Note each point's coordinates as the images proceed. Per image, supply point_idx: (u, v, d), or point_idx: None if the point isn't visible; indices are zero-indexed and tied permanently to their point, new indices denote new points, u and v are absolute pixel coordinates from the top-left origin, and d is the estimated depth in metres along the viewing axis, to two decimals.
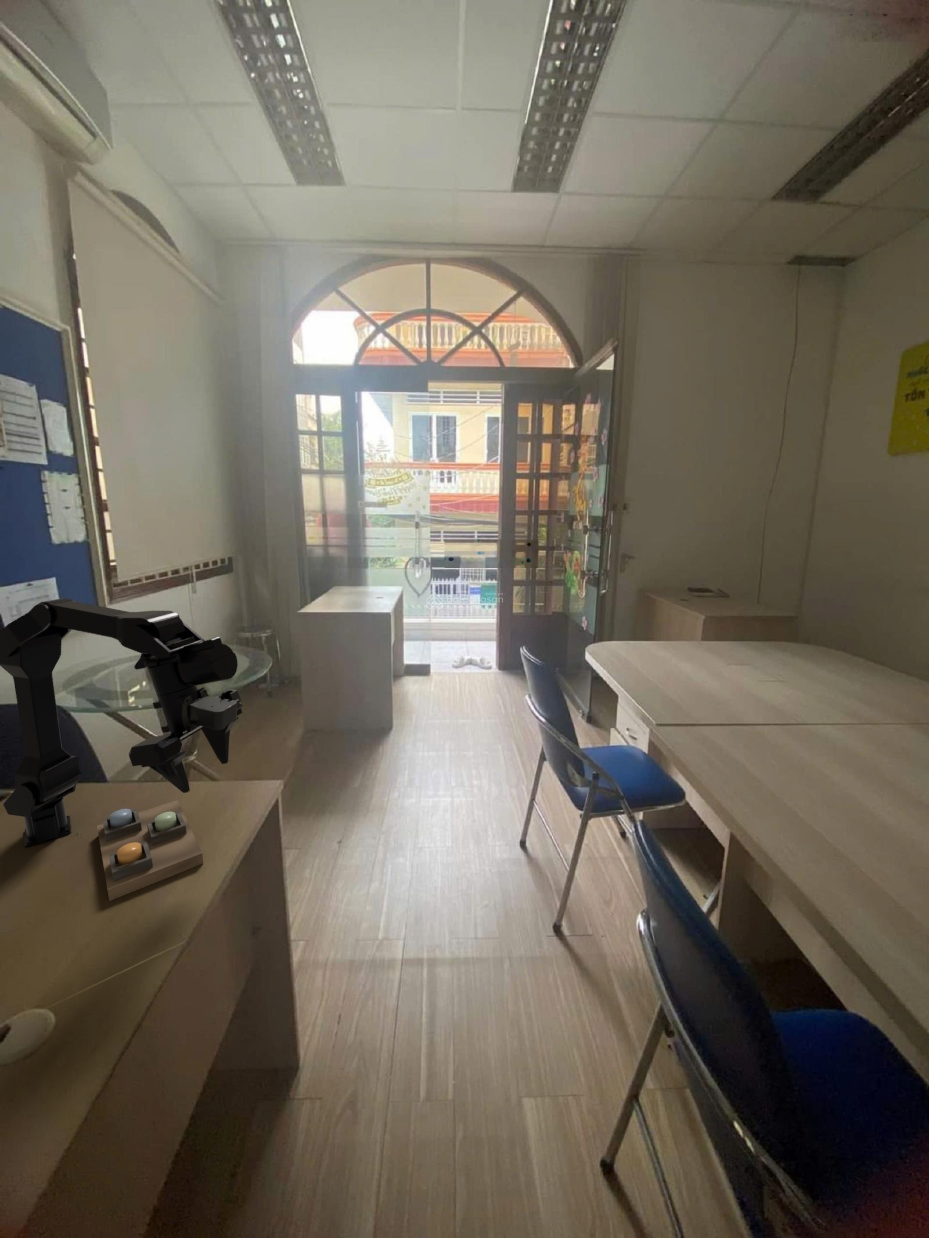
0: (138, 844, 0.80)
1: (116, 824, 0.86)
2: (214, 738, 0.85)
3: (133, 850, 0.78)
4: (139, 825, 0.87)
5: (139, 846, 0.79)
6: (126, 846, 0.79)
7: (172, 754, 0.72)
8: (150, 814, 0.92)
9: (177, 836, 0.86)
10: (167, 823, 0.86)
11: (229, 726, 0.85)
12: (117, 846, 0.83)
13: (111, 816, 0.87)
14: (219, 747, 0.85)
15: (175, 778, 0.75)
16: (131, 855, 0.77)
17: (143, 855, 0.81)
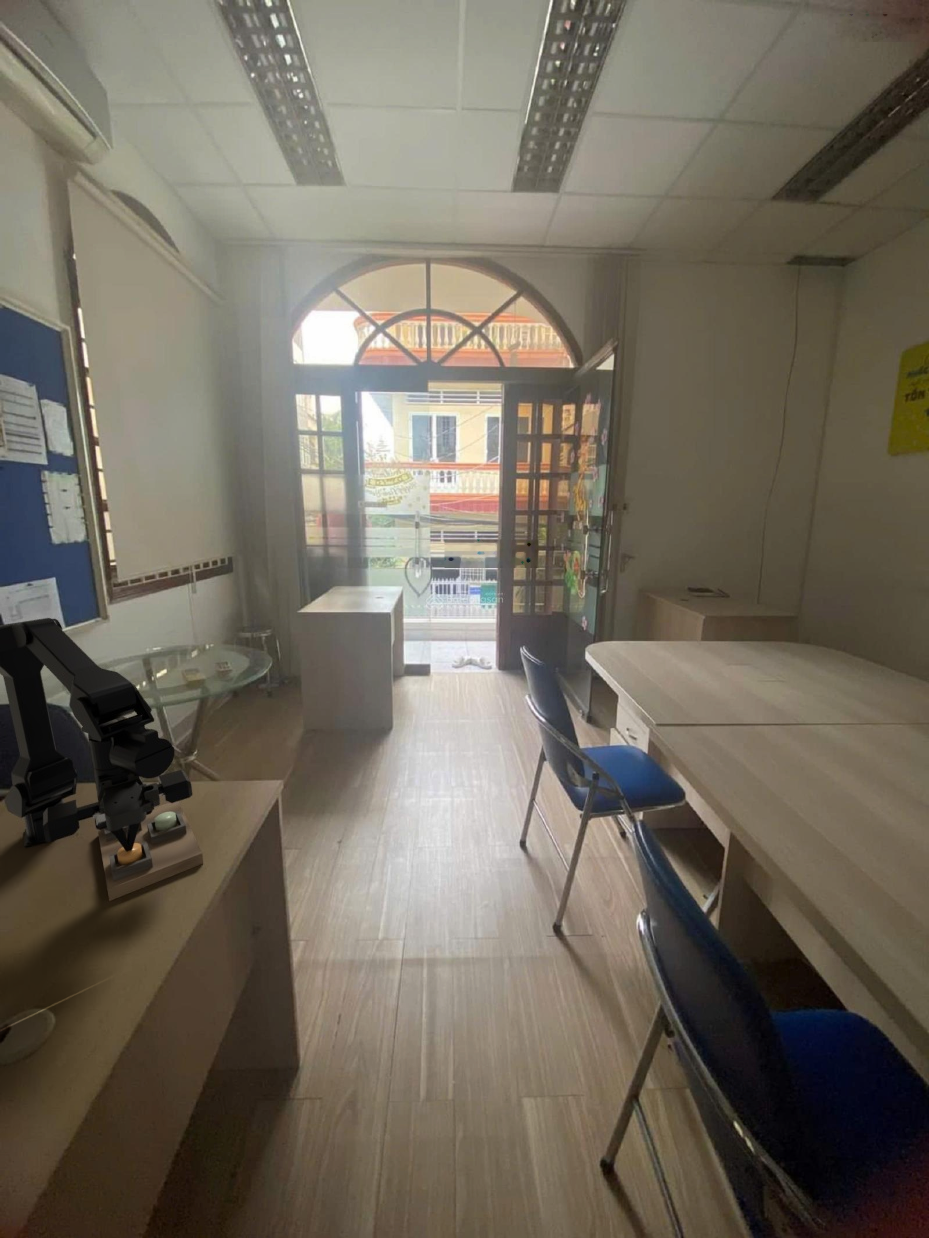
0: (138, 845, 0.80)
1: None
2: None
3: (133, 851, 0.78)
4: (139, 825, 0.87)
5: (139, 847, 0.79)
6: None
7: (61, 836, 0.70)
8: (150, 814, 0.92)
9: (177, 836, 0.86)
10: (167, 823, 0.86)
11: None
12: (117, 846, 0.83)
13: None
14: (128, 832, 0.78)
15: None
16: (131, 855, 0.77)
17: (143, 855, 0.81)
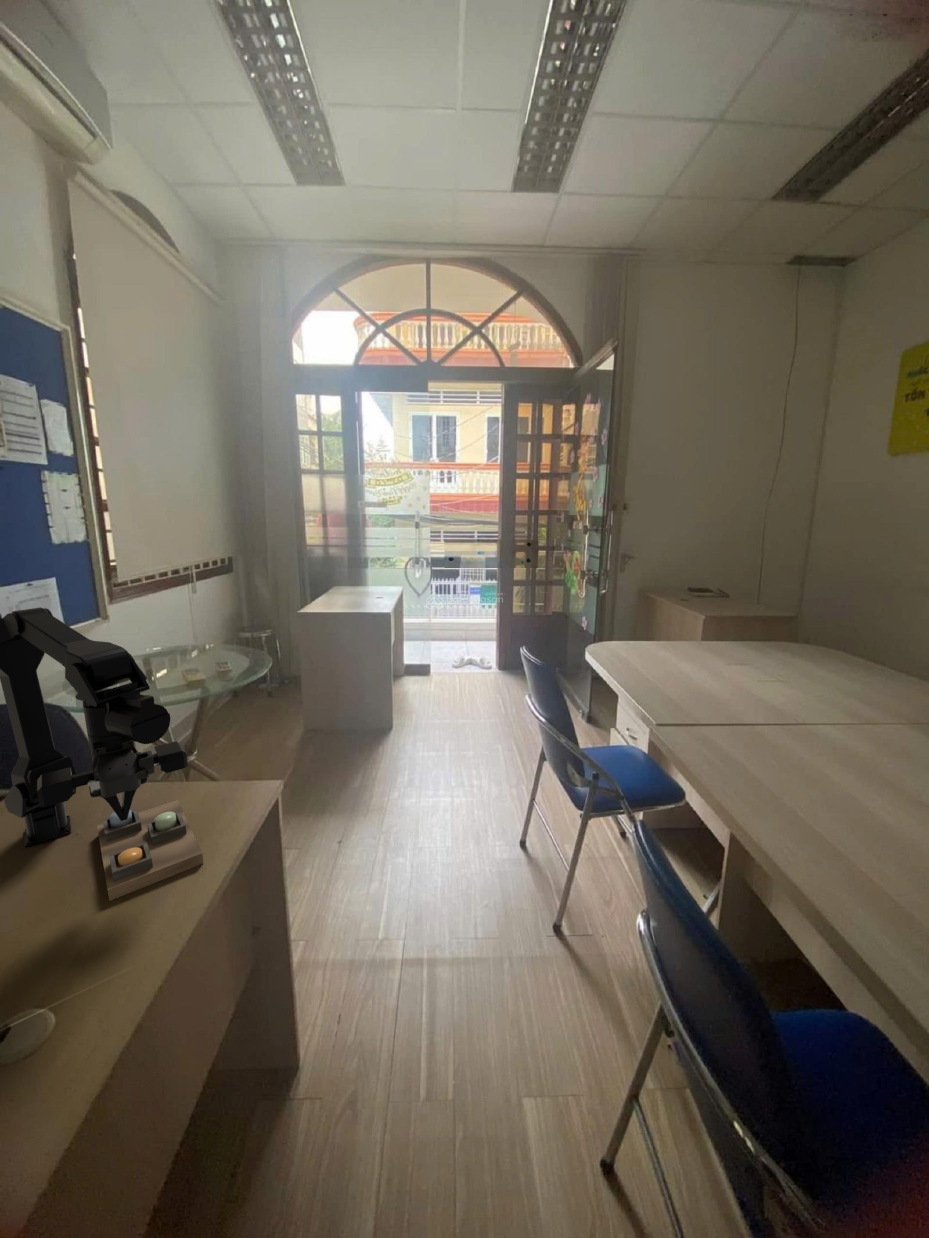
0: (139, 849, 0.80)
1: (116, 824, 0.86)
2: None
3: (134, 855, 0.78)
4: (139, 825, 0.87)
5: (140, 851, 0.79)
6: (127, 851, 0.79)
7: (55, 802, 0.70)
8: (150, 814, 0.92)
9: (177, 836, 0.86)
10: (167, 823, 0.86)
11: None
12: (117, 846, 0.83)
13: (111, 816, 0.87)
14: (122, 801, 0.78)
15: None
16: (131, 860, 0.78)
17: (143, 855, 0.81)
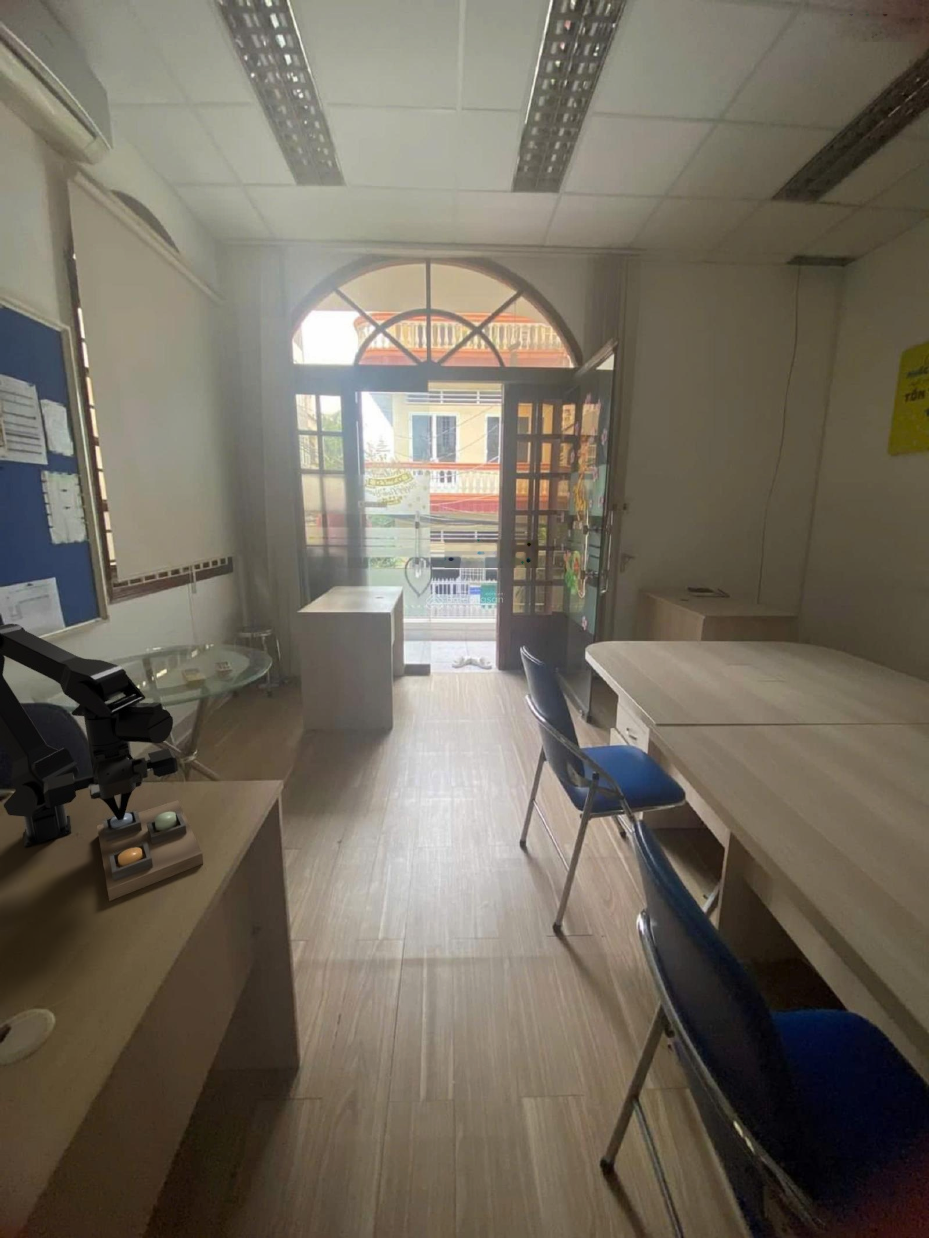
0: (139, 849, 0.80)
1: None
2: None
3: (134, 855, 0.78)
4: (139, 825, 0.87)
5: (140, 851, 0.79)
6: (127, 851, 0.79)
7: (59, 803, 0.79)
8: (150, 814, 0.92)
9: (177, 836, 0.86)
10: (167, 823, 0.86)
11: None
12: (117, 846, 0.83)
13: (112, 820, 0.87)
14: (119, 802, 0.87)
15: None
16: (131, 860, 0.78)
17: (143, 855, 0.81)
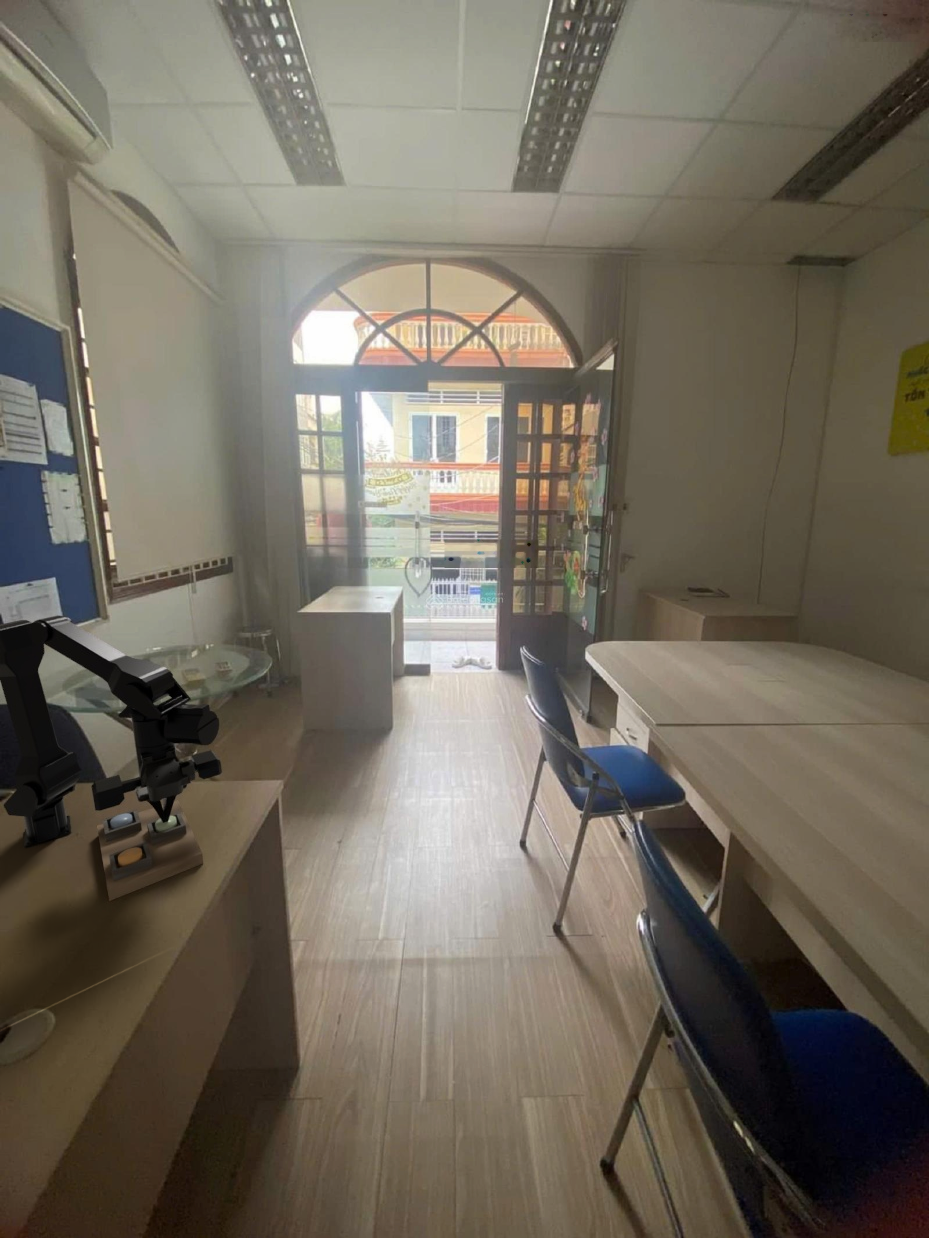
0: (139, 849, 0.80)
1: None
2: None
3: (134, 855, 0.78)
4: (139, 825, 0.87)
5: (140, 851, 0.79)
6: (127, 851, 0.79)
7: (108, 806, 0.78)
8: (150, 814, 0.92)
9: (177, 836, 0.86)
10: (168, 827, 0.86)
11: None
12: (117, 846, 0.83)
13: (112, 821, 0.87)
14: (164, 805, 0.86)
15: None
16: (131, 860, 0.78)
17: (143, 855, 0.81)
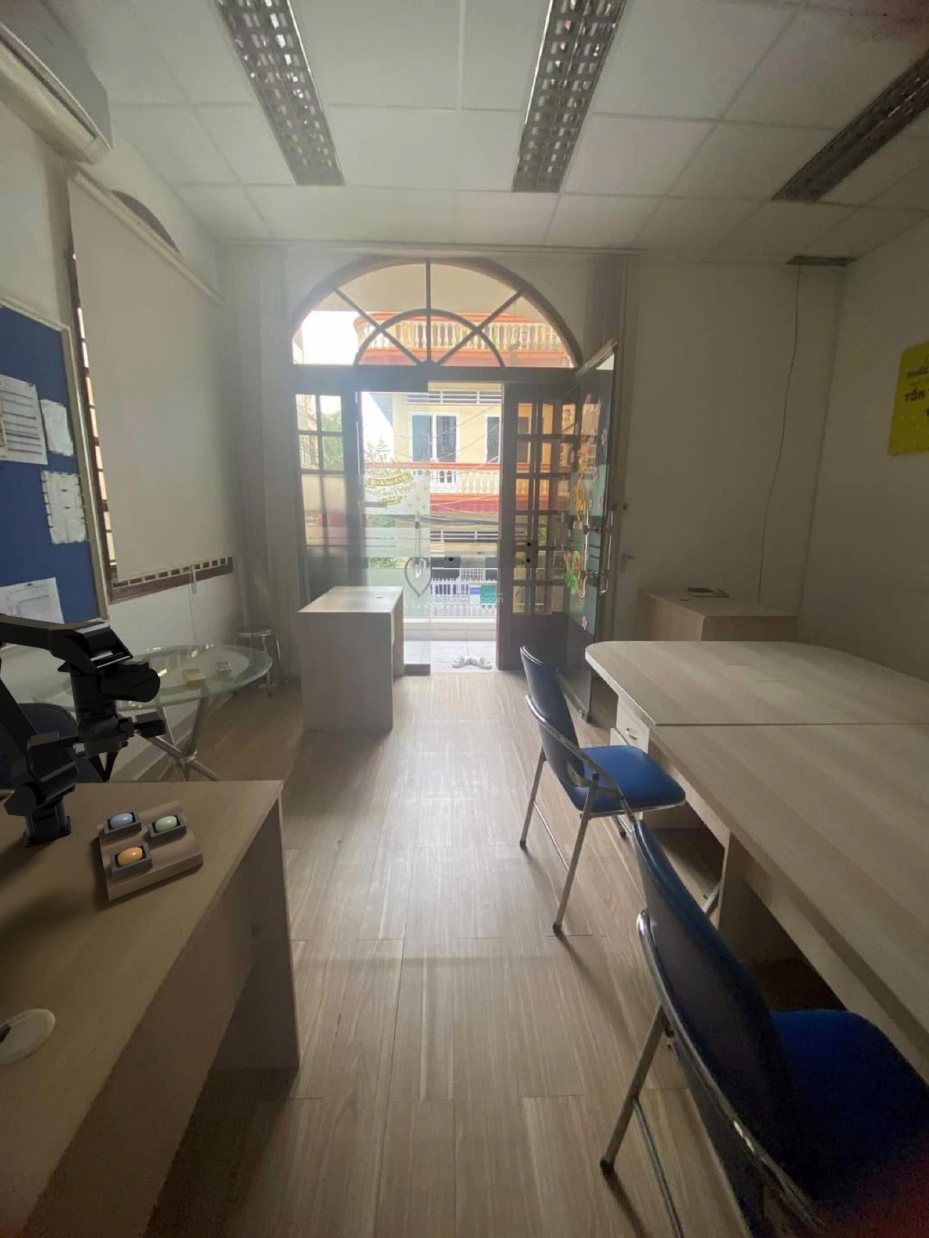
0: (139, 849, 0.80)
1: None
2: (105, 753, 0.86)
3: (134, 855, 0.78)
4: (139, 825, 0.87)
5: (140, 851, 0.79)
6: (127, 851, 0.79)
7: (43, 760, 0.77)
8: (150, 814, 0.92)
9: (177, 836, 0.86)
10: (168, 828, 0.86)
11: None
12: (117, 846, 0.83)
13: (112, 821, 0.87)
14: (105, 764, 0.85)
15: None
16: (131, 860, 0.78)
17: (143, 855, 0.81)
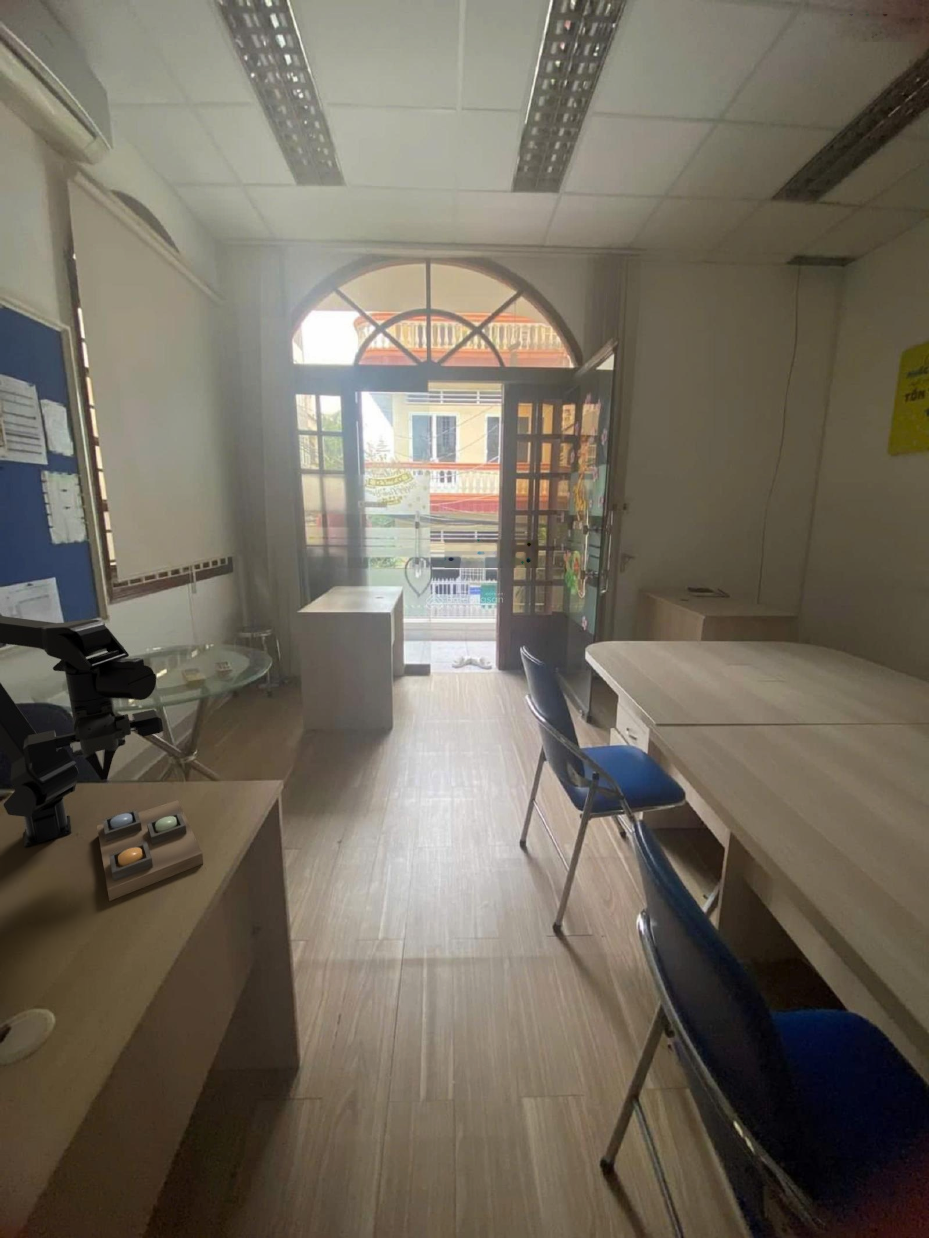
0: (139, 849, 0.80)
1: None
2: (103, 752, 0.86)
3: (134, 855, 0.78)
4: (139, 825, 0.87)
5: (140, 851, 0.79)
6: (127, 851, 0.79)
7: (39, 759, 0.77)
8: (150, 814, 0.92)
9: (177, 836, 0.86)
10: (168, 828, 0.86)
11: (108, 749, 0.83)
12: (117, 846, 0.83)
13: (112, 821, 0.87)
14: (103, 762, 0.85)
15: None
16: (131, 860, 0.78)
17: (143, 855, 0.81)
